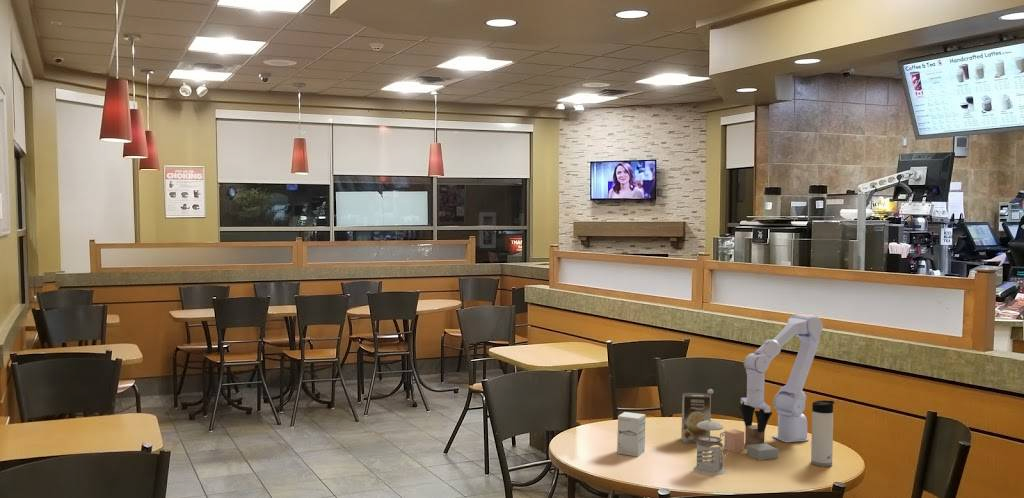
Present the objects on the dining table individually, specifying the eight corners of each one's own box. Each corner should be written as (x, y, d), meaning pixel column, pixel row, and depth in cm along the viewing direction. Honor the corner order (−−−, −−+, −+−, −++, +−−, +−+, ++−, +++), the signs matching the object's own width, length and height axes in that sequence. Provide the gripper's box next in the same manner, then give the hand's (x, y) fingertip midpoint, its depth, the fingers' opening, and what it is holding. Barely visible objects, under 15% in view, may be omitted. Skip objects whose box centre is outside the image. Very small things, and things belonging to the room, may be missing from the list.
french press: (702, 463, 266) (703, 384, 265) (736, 470, 259) (738, 389, 258) (687, 470, 259) (688, 389, 258) (722, 478, 251) (723, 394, 250)
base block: (765, 452, 279) (765, 443, 279) (777, 458, 272) (778, 448, 272) (746, 454, 277) (746, 444, 277) (759, 460, 270) (759, 450, 270)
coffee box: (682, 442, 290) (683, 396, 290) (681, 438, 297) (681, 392, 296) (710, 443, 289) (710, 397, 289) (707, 438, 296) (708, 393, 295)
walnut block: (756, 442, 292) (756, 425, 292) (764, 445, 287) (764, 428, 287) (745, 443, 290) (745, 425, 290) (752, 446, 286) (753, 429, 286)
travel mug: (835, 467, 263) (836, 403, 262) (812, 466, 264) (813, 402, 263) (831, 461, 269) (832, 399, 268) (809, 460, 270) (810, 398, 269)
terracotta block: (733, 446, 286) (733, 429, 286) (744, 449, 282) (744, 431, 282) (724, 448, 284) (724, 430, 283) (734, 451, 280) (734, 433, 280)
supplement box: (616, 454, 276) (616, 415, 276) (624, 448, 283) (624, 411, 282) (638, 457, 273) (638, 418, 272) (645, 451, 279) (646, 413, 279)
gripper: (733, 385, 294) (732, 424, 294) (758, 394, 280) (757, 435, 281) (751, 384, 296) (750, 423, 297) (776, 393, 282) (775, 433, 283)
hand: (754, 428), depth 289 cm, fingers open, 7 cm apart
